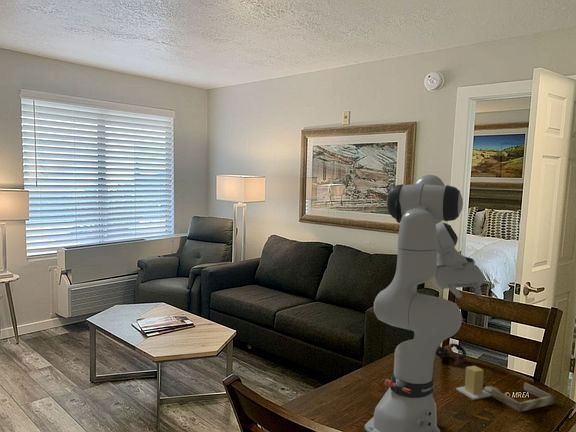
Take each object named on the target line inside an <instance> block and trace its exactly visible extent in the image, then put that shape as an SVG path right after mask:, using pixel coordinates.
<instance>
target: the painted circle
mask: <svg viewBox="0 0 576 432" xmlns="http://www.w3.org/2000/svg"><path fill="white" fill-rule="evenodd" d="M492 389H496V390H497V391H499V392H501V390H500V389H499V388H497V387H495V386H490V385H489V386H488V385H487V386H484V387H483V390H484V391H486V392H488V393H490V394H492Z"/></svg>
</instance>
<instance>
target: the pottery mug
mask: <svg viewBox="0 0 576 432" xmlns="http://www.w3.org/2000/svg"><path fill="white" fill-rule="evenodd" d="M454 347H455V349H456V350H458V351H461V353H462V355H459V357H458V354H457V353H456V352H454V351H453V349H452V348H454ZM435 355H436V356H437V357H438V358H439V360H441V361H443V359H444V357H447V358H450V357H452V358H453V359H454V362H453V365H454V366H455V367H456V366H459V365H461V364H462V363H464V362H465V361H466V356H467V351H466V350H465V348H463V347H462V346H461V345H459V344H458V343H453V342H452V343H450V344H448V345H445V346H444V347H443V346H439V347H438V348H437V350H436V353H435Z"/></svg>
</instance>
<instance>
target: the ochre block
mask: <svg viewBox="0 0 576 432" xmlns="http://www.w3.org/2000/svg"><path fill="white" fill-rule="evenodd" d="M484 372H485V371H484V369H482V368H481V367H478V366H476V365H470V366H469V365H468V366H466V367H465V379H464V386H465V390H466V391H468V392H470V393H471V394H473V395H474V394H479V393H482V391H483V390H484V387H483V383H484Z"/></svg>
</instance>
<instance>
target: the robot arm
mask: <svg viewBox="0 0 576 432" xmlns="http://www.w3.org/2000/svg"><path fill="white" fill-rule="evenodd" d="M463 200H464V198H463V195H462V194H461V191H460V190H459V189H458V188H457V187H455V186H452V185H445V183H444V182H443V179H441V178H440V177H439V176H436V175H434V174H426V175H423V176H421V177H419V178H418V179H417V180H416V182H415V183H414V184H413V183H411V184H405V185H404V184H396V185H393V186H392V187H391V188H390V189H389V190H388V193H387V196H386V207H387V212H388V213H389V215H390V216H391V218H393V219H395V220H396V222H397V223H398V224H399V229H398V235H397V253H396V255H397V256H396V257H397V259H396V268H395V274H394V277H393V278H392V281H391V282H390V284H389V285H388V286H386V287H385V288H384V289H382V290H381V291H379V293H377V295H376V296H375V298H374V301H373V312H374V315H375V316H376V319H377V320H379V321H380V322H382V323H384V324H387V325H389V326H391V327H395V328H400V329H404V330H408V331H412V332H413V339H408V340H405V341H402V342H400V343H399V344H398V345H397V346H396V347H395V350H394V357H393V358H394V361H393V372H392V375H391V377H390V379H389V378H386V379H385V381H384V386H386V387H389V388H388V389H387V391H386V392H385V393H384V394H383V396H382V398H381V399H380V401H379V402H378V404H377V405H376V406H375V408H374V413H373V417H371V418H370V419H369V420H368V421H367V422H366V423H365V424H364V430H365V431H366V432H441V430H440V428H439V427H438V421H437V418H438V416H437V403H436V401H435V399H434V395H433V392H434V387H435V382H434V378H433V372H434V371H433V369H434V363H435V357H436V356H435V355H436V350H437V348H438V347H440V345H441V344H442V343H443V342H444V341H445V340H447V339H449V338H451V337H453V336H455V334H456V333H457V332H458V331H459V330H460V328H461V326H462V322H463V321H462V320H463V316H462V312H461V309H460V307H459V306H458V304H457V303H456V302H453V301H451V300H449V299H446V298H443V297H439V296H434V295H428V294H422V293H419V292H418V291H417V289H418V285H421V284H425V283H427V282H429V281H431V280H432V279H433V278H435V279H434V280H435V282H436V284H437V286H438V288H440V289H449V291H450V292H451V293H452V294H453V295H455V297H456V298H457V299H458V298H459V299H460V298H462V297H463V294H462V292H461V291H459V290H458V289H457V288H467V287H469V288H470V287H473V288H474V289H475V291H474V294H475V296H477V297H481V296H482V295H483V291H482V289H481V286H482V285H483V284H484V283H485V282H486V277H485V275H484V274H483V272H482V270H481V269H480V268H479V266H478V265H477V264H476V261H475V259H474V258H472V257H468V256H465V255H462V254H461V253H460V252H459V251H458V250H457V249H456V248H455V247H456V245H457V243H458V239H459V237H458V235H457V234H456V232H455V230H454V229H453V227H452V226H451V224H449V223H445V222H451V221H456V220H457V219H458V218H459V217H460V215H461V212H462V211H463V206H464V201H463ZM442 221H444V222H442Z"/></svg>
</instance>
